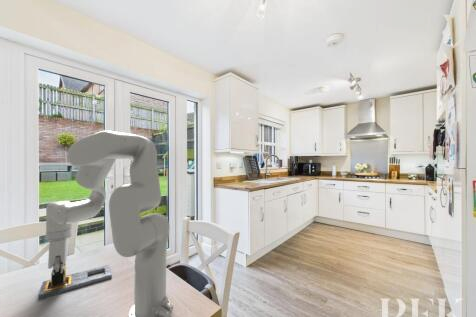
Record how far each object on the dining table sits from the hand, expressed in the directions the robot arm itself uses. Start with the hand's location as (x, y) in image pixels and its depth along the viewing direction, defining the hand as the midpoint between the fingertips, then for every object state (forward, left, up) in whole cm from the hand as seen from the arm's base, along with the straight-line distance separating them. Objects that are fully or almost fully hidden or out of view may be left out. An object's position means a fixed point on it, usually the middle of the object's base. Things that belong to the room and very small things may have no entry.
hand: (59, 278), depth 79 cm
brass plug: (0, 0, -4) cm, 4 cm away
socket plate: (-2, -5, -4) cm, 7 cm away
